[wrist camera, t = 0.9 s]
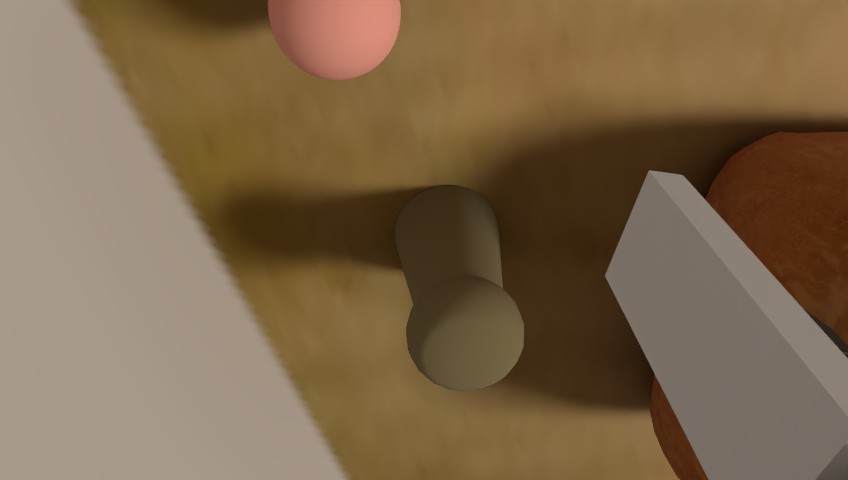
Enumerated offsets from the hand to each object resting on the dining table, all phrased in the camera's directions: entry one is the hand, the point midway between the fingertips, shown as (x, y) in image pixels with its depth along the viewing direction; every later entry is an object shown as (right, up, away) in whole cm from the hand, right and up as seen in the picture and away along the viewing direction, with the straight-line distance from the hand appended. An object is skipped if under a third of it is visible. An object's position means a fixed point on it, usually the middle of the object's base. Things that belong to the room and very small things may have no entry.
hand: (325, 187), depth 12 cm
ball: (-1, +8, +11) cm, 13 cm away
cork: (+3, -1, +23) cm, 23 cm away
